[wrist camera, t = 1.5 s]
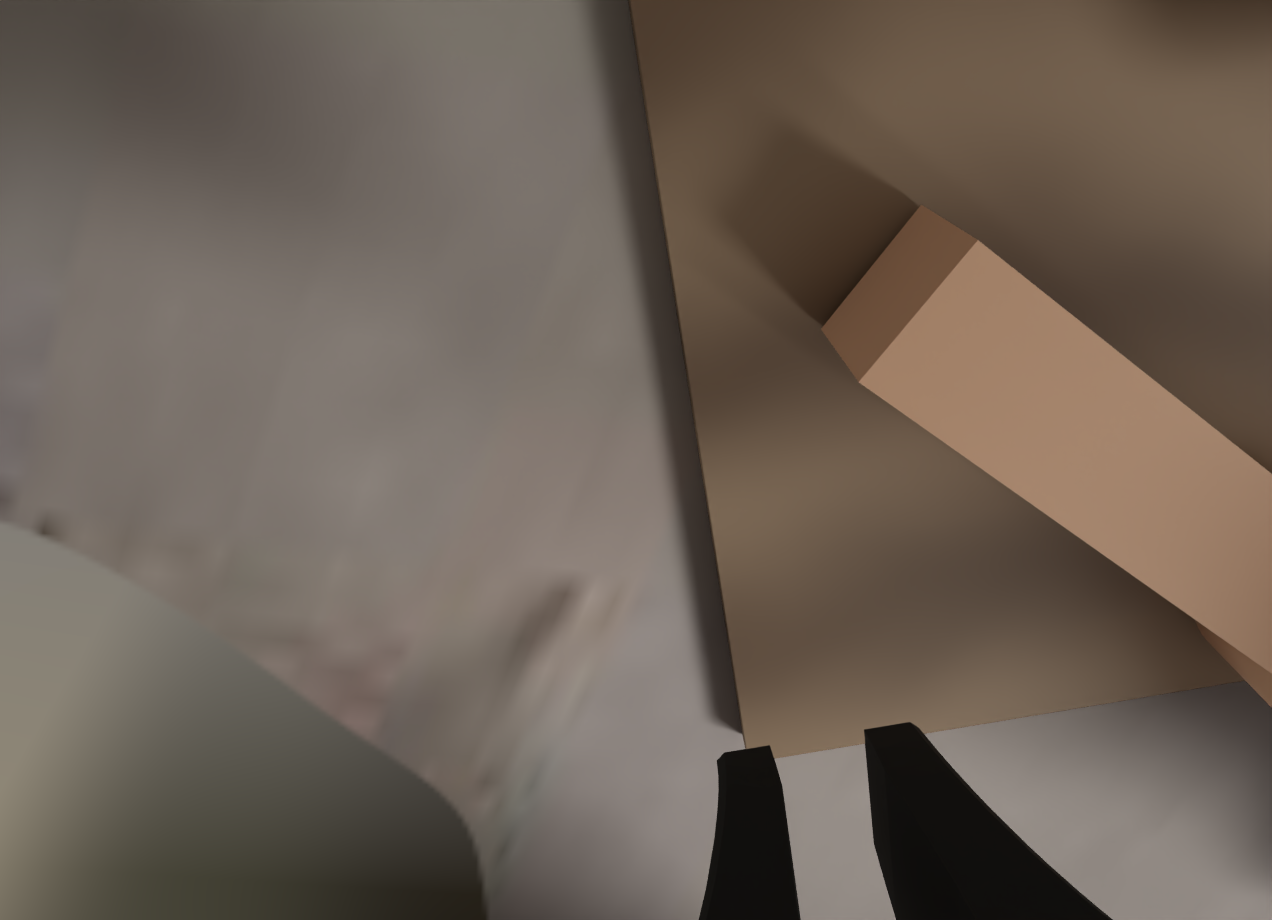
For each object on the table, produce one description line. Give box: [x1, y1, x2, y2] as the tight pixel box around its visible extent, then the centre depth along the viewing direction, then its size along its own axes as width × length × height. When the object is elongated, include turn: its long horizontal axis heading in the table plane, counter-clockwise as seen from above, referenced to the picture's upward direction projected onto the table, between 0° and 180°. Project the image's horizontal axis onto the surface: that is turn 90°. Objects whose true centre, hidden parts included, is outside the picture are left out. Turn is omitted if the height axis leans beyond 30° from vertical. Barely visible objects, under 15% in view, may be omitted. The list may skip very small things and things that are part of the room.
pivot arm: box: [821, 205, 1272, 708], centre depth 20 cm, size 15×4×4 cm, turn 55°
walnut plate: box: [628, 0, 1272, 758], centre depth 21 cm, size 20×17×1 cm
